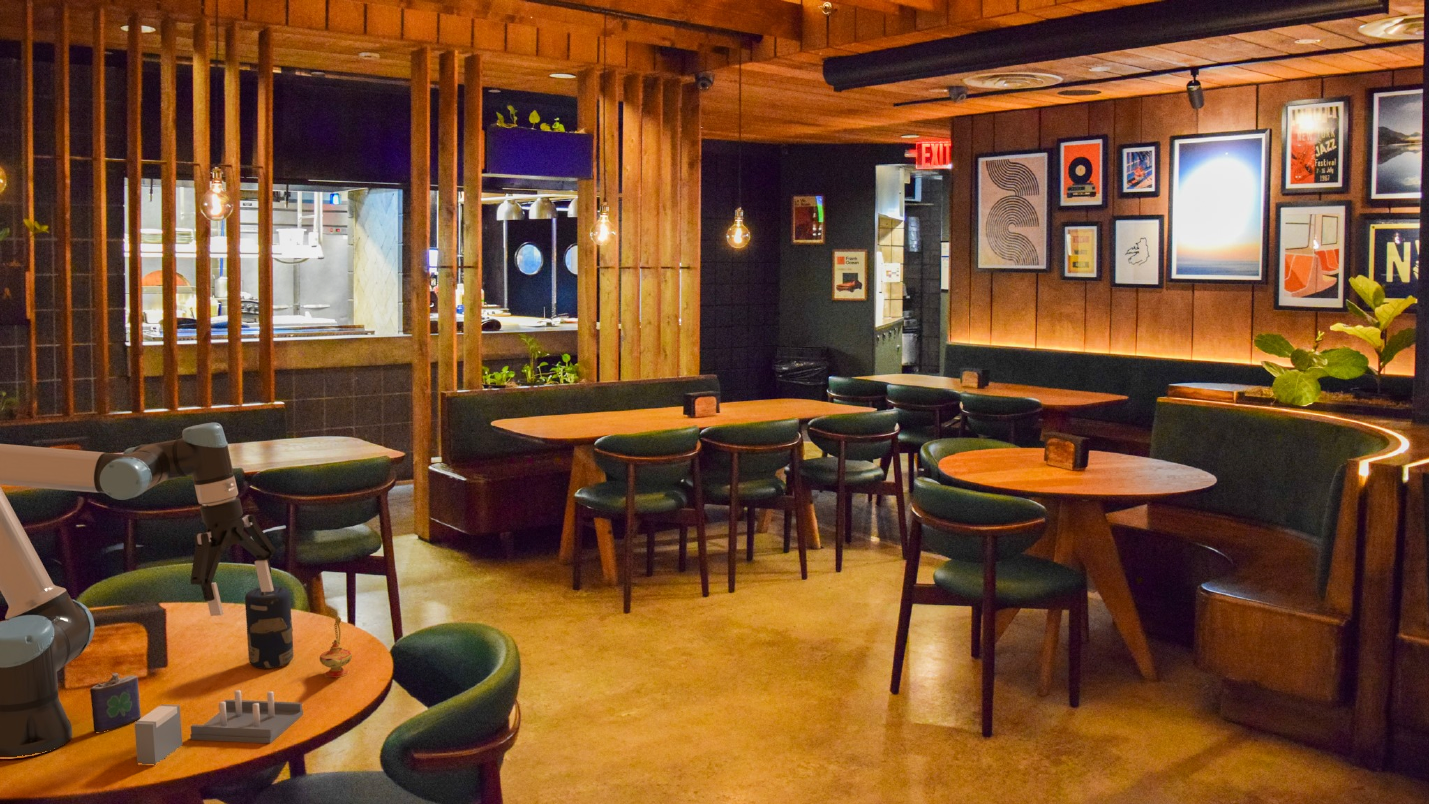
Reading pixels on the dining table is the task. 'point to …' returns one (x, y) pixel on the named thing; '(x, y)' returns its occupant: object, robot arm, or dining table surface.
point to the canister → (269, 627)
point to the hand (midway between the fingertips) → (243, 602)
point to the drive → (158, 734)
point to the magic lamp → (336, 656)
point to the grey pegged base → (248, 720)
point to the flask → (115, 703)
